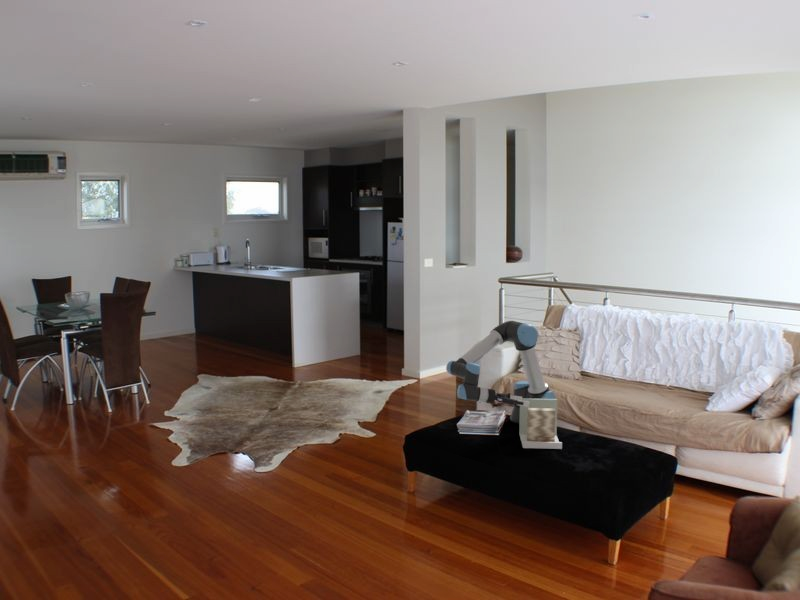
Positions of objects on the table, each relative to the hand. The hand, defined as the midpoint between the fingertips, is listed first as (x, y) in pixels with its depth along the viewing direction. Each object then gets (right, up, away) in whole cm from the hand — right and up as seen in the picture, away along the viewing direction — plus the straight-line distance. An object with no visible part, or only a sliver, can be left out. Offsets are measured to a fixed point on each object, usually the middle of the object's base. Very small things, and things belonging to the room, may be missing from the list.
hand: (525, 401), depth 378 cm
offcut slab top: (+10, -20, -4) cm, 23 cm away
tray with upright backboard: (+8, -22, +4) cm, 24 cm away
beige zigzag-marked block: (+8, -22, +2) cm, 23 cm away
